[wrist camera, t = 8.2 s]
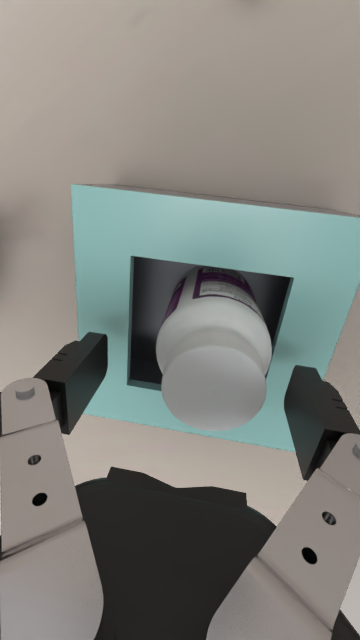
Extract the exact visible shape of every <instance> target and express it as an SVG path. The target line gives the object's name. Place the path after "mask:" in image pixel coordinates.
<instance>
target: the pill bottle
mask: <svg viewBox="0 0 360 640" xmlns="http://www.w3.org/2000/svg"><path fill="white" fill-rule="evenodd" d="M156 356H157V361H158V365H159V368H160V370H161V372H162V374H163V376H162V384H161V390H162V396H163V399H164V402H165V404H166V406H167V407H168V409H169V410H170V412H171V413H172V414H173V415H174V416H175V417H176V418H177V419H179V420H180V421H182V422H183V423H185V424H187V425H189V426H191V427H194V428H197V429H200V430H206V431H225V430H230V429H233V428H237V427H240V426H242V425H244V424H245V423H247V422H249V421H250V420H251V419H253V418H254V417H255V416H256V415H257V413H258V412H259V411H260V409H261V408H262V406H263V404H264V401H265V398H266V392H267V386H266V379H265V375H266V373H267V371H268V368H269V365H270V362H271V356H272V346H271V339H270V335H269V332H268V329H267V326H266V324H265V322H264V319H263V317H262V314H261V311H260V309H259V306H258V304H257V301H256V299H255V296H254V294H253V291H252V289H251V287H250V285H249V283H248V282H247V280H246V279H245V278H244V277H243V276H242V275H241V274H240V273H239V272H237V271H236V270H233V269H226V268H219V267H211V266H204V265H202V266H198V267H196V268H194V269H192V270H190V271H189V272H187V273H186V274H185V275H184V276H183V277H182V278H181V279H180V280H179V282H178V284H177V285H176V287H175V289H174V292H173V294H172V297H171V300H170V303H169V305H168V308H167V311H166V313H165V316H164V319H163V322H162V324H161V328H160V330H159V333H158V336H157V342H156Z"/></svg>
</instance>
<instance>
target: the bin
mask: <svg viewBox="0 0 360 640" xmlns="http://www.w3.org/2000/svg"><path fill="white" fill-rule="evenodd" d="M71 199H72V218H73V237H74V256H75V275H76V295H77V314H78V333H79V341H80V340H81V339H82V338H83V337H84V336H85V335H86V334H87V333H88V332H95V333H101V334H106V335H107V337H108V368H107V373H106V376H105V378H104V380H103V381H102V383H101V385H100V386H99V388H98V389H97V391H96V393H95V394H94V396H93V398H92V399H91V401H90V402H89V404H88V406H87V407H86V409H85V410H84V412H83V414H88V415H94V416H99V417H105V418H110V419H116V420H121V421H127V422H132V423H138V424H143V425H149V426H154V427H160V428H165V429H171V430H176V431H182V432H187V433H193V434H198V435H204V436H209V437H215V438H220V439H225V440H231V441H236V442H242V443H247V444H253V445H258V446H264V447H269V448H275V449H280V450H286V451H291V452H296V451H295V448H294V444H293V440H292V437H291V433H290V429H289V425H288V422H287V418H286V414H285V411H284V397H285V393H286V390H287V387H288V384H289V381H290V378H291V374H292V371H293V369H294V367H295V365H301V366H307V367H313V368H316V369H317V371H318V373H319V375H320V377H321V379H322V381H323V378H324V376H325V373H326V370H327V368H328V365H329V362H330V360H331V357H332V355H333V352H334V349H335V347H336V344H337V341H338V339H339V336H340V334H341V331H342V328H343V326H344V323H345V320H346V318H347V315H348V312H349V310H350V307H351V305H352V302H353V299H354V297H355V294H356V291H357V289H358V286H359V284H360V216H359V215H354V214H349V213H345V212H340V211H335V210H329V209H320V208H312V207H303V206H294V205H286V204H277V203H269V202H260V201H251V200H243V199H234V198H225V197H217V196H208V195H199V194H191V193H182V192H174V191H165V190H156V189H148V188H139V187H130V186H122V185H91V184H71ZM202 265H204V266H211V267H219V268H226V269H233V270H236V271H237V272H239V273H240V274H241V275H242V276H243V277H244V278H245V279H246V280H247V282H248V283H249V285H250V287H251V289H252V291H253V294H254V296H255V299H256V301H257V304H258V306H259V309H260V311H261V314H262V317H263V319H264V322H265V324H266V326H267V329H268V332H269V335H270V339H271V346H272V356H271V362H270V365H269V368H268V371H267V373H266V375H265V379H266V386H267V392H266V398H265V401H264V404H263V406H262V408H261V409H260V411H259V412H258V413H257V415H256V416H255V417H254V418H253V419H251V420H250V421H249V422H247V423H245V424H244V425H242V426H240V427H237V428H233V429H230V430H225V431H206V430H200V429H197V428H194V427H191V426H189V425H187V424H185V423H183V422H182V421H180V420H179V419H177V418H176V417H175V416H174V415H173V414H172V413H171V412H170V410H169V409H168V407H167V406H166V404H165V402H164V399H163V396H162V390H161V384H162V376H163V374H162V372H161V370H160V368H159V365H158V361H157V356H156V342H157V336H158V333H159V330H160V328H161V324H162V322H163V319H164V316H165V313H166V311H167V308H168V305H169V303H170V300H171V297H172V294H173V292H174V289H175V287H176V285H177V284H178V282H179V280H180V279H181V278H182V277H183V276H184V275H185V274H186V273H187V272H189V271H190V270H192V269H194V268H196V267H198V266H202Z"/></svg>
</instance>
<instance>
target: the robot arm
mask: <svg viewBox="0 0 360 640" xmlns="http://www.w3.org/2000/svg"><path fill="white" fill-rule="evenodd" d="M107 368H108V337H107V335H106V334H101V333H95V332H88V333H87V334H86V335H85V336H84V337H83V338H82V339H81V340H80V341H74V342H72V343H69V344H67V345H65V346H64V347H63V348H62V349H61V350H60V351H59V352H58V354H56V355H55V356H54V357H53V358H52V360H50V361H49V362H48V363H47V364H46V365H45V366H44V367H43V368H42V369H41V370H40V371H39V372H38V373H37V374H36V375H35V376H34V377H33V378H25V379H20V380H17V381H15V382H12V383H11V384H9V385H8V386H6V387H5V388H4V389H3V391H2V392H0V493H1V536H0V640H360V635H359V634H358V633H357V631H356V630H355V629H354V627H353V626H352V625H351V624H350V622H349V621H348V620H347V618H346V617H345V615H344V614H343V613H342V611H341V610H340V607H341V604H342V602H343V599H344V596H345V594H346V591H347V589H348V586H349V583H350V580H351V578H352V575H353V573H354V570H355V567H356V565H357V562H358V559H359V557H360V430H359V428H358V427H357V425H356V423H355V421H354V419H353V418H352V416H351V414H350V412H349V410H347V407H346V405H345V403H344V402H343V400H342V398H341V396H340V394H339V393H338V391H337V390H336V389H335V388H334V387H333V386H332V385H331V384H329V383H328V382H324V381H322V379H321V377H320V375H319V373H318V371H317V369H316V368H313V367H307V366H301V365H295V367H294V369H293V371H292V374H291V378H290V381H289V384H288V387H287V390H286V393H285V397H284V411H285V414H286V418H287V422H288V425H289V429H290V433H291V437H292V440H293V444H294V448H295V451H296V455H297V459H298V462H299V466H300V470H301V473H302V477H303V480H307V481H308V482H307V483H306V485H305V486H304V488H303V489H302V491H301V492H300V494H299V495H298V496H297V498H296V499H295V501H294V502H293V504H292V505H291V507H290V508H289V510H288V511H287V513H286V514H285V516H284V517H283V519H282V520H281V521H280V523H279V524H278V526H277V527H276V526H275V525H274V524H273V523H272V522H271V521H270V520H269V519H268V518H266V517H265V516H264V515H262V514H261V513H260V512H258V511H256V510H255V509H253V508H251V507H249V506H247V500H246V493H243V492H238V491H233V490H228V489H223V488H217V487H212V486H211V487H192V488H175V487H172V486H170V485H168V484H166V483H164V482H161V481H159V480H157V479H155V478H153V477H151V476H149V475H147V474H144V473H141V472H136V471H130V470H125V469H120V468H115V467H111V468H110V471H109V473H108V476H107V478H99V479H94V480H90V481H87V482H84V483H81V484H79V485H76V486H75V485H74V481H73V477H72V473H71V469H70V465H69V461H68V457H67V453H66V449H65V445H64V441H63V437H62V433H63V434H68V435H69V434H70V433H71V431H72V430H73V428H74V426H75V425H76V423H77V422H78V420H79V418H80V417H81V415H82V414H83V412H84V410H85V409H86V407H87V406H88V404H89V402H90V401H91V399H92V398H93V396H94V394H95V393H96V391H97V389H98V388H99V386H100V385H101V383H102V381H103V380H104V378H105V376H106V373H107Z"/></svg>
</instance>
